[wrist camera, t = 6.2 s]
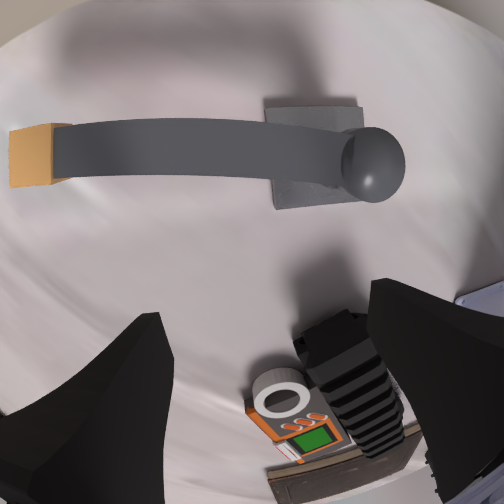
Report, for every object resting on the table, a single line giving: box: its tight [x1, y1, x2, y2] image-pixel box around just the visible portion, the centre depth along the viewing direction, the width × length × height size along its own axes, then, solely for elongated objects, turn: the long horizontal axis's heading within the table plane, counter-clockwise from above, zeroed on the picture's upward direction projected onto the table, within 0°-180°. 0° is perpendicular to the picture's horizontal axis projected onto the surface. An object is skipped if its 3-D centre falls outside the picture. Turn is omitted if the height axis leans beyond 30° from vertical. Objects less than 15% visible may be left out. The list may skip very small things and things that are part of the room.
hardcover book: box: [268, 424, 423, 504], centre depth 33 cm, size 16×23×2 cm
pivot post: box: [265, 106, 364, 210], centre depth 14 cm, size 6×6×5 cm
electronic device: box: [244, 367, 352, 464], centre depth 24 cm, size 7×3×15 cm
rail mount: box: [293, 308, 406, 462], centre depth 23 cm, size 21×6×5 cm, turn 29°
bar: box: [9, 118, 405, 203], centre depth 10 cm, size 3×16×2 cm, turn 86°
